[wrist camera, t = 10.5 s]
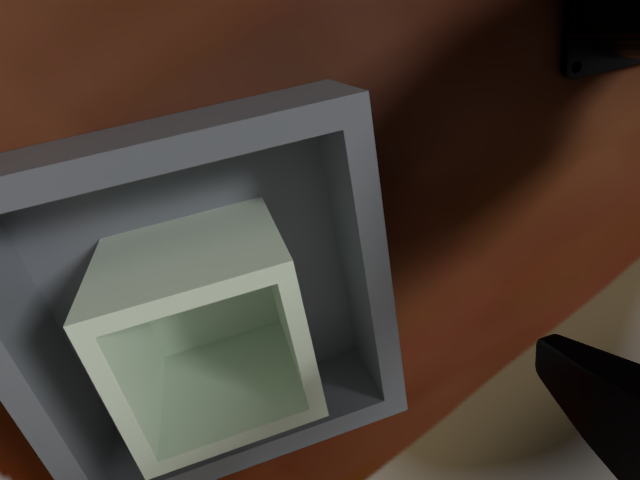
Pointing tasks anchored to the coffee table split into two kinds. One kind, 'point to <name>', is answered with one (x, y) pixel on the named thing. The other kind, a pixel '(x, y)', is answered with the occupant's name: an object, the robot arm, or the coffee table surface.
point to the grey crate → (183, 200)
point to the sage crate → (197, 336)
